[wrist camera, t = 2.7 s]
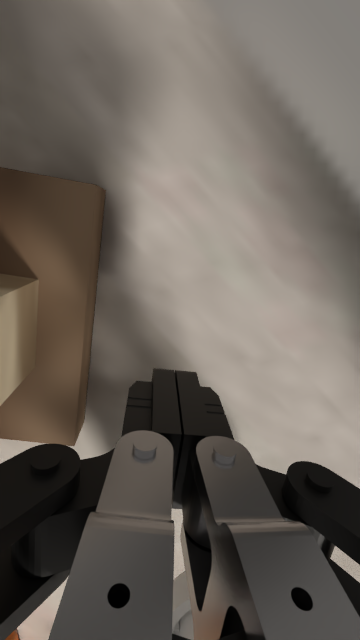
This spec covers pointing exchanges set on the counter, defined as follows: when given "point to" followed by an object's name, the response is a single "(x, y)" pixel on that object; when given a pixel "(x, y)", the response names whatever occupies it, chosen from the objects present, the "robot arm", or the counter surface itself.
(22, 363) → the maple block
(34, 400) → the trap track
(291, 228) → the counter surface
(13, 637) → the supplement box
